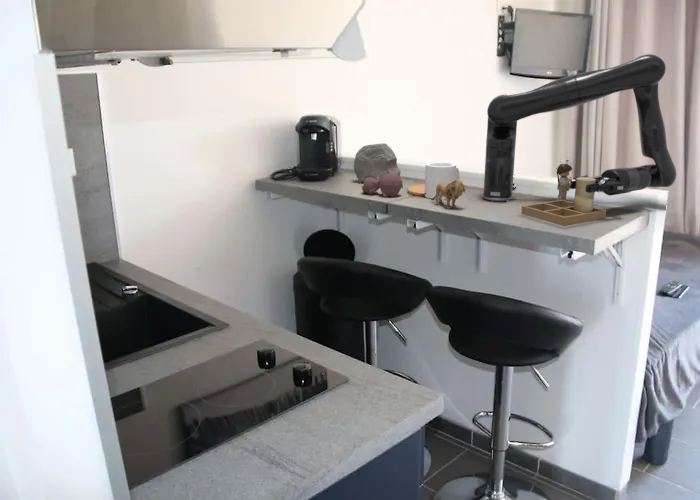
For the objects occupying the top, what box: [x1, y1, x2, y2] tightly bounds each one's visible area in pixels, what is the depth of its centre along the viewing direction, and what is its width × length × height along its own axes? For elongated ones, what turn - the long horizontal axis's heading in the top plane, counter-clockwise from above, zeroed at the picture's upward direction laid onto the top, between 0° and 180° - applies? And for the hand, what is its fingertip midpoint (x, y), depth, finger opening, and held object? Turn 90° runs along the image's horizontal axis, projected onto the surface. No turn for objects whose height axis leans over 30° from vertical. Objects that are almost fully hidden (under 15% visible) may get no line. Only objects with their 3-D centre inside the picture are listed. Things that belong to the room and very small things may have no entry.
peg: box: [573, 176, 596, 213], centre depth 180 cm, size 5×5×10 cm
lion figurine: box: [430, 179, 468, 210], centre depth 199 cm, size 15×5×9 cm, turn 33°
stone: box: [353, 142, 402, 182], centre depth 234 cm, size 19×7×15 cm, turn 53°
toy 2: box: [554, 157, 573, 201], centre depth 199 cm, size 6×6×15 cm
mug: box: [424, 161, 461, 200], centre depth 213 cm, size 14×10×11 cm
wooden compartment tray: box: [520, 199, 607, 227], centre depth 183 cm, size 16×16×3 cm
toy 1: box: [361, 173, 404, 198], centre depth 216 cm, size 8×8×15 cm
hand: (579, 187), depth 178 cm, fingers closed on peg, 5 cm apart
